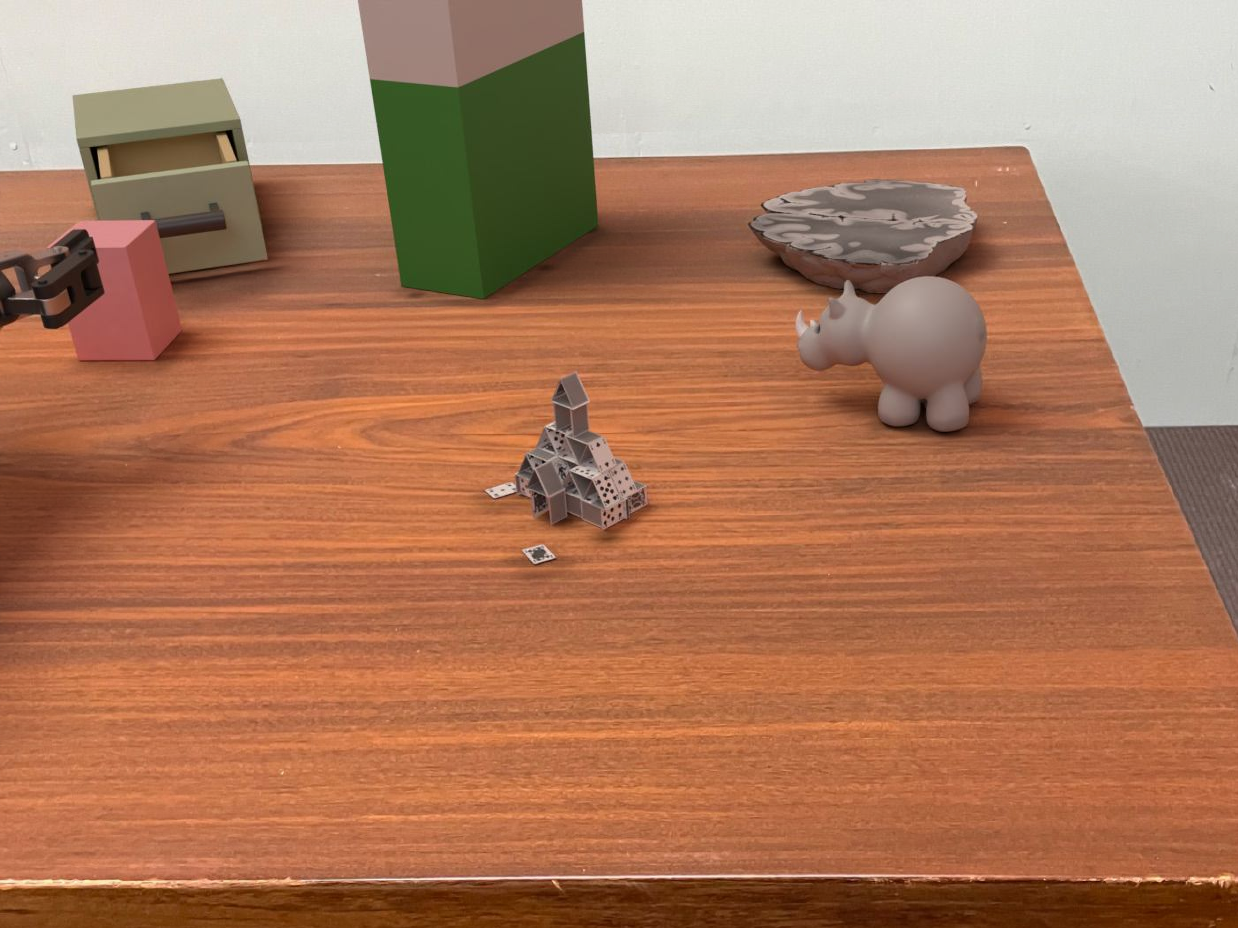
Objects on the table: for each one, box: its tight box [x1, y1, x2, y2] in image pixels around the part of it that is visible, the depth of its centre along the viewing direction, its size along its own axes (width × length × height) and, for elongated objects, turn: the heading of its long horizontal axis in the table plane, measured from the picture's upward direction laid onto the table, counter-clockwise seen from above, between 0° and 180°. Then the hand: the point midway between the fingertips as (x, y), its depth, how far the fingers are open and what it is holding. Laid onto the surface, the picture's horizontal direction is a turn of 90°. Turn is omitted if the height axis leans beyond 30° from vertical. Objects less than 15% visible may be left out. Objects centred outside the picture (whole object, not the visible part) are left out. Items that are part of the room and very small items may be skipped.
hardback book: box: [357, 0, 599, 300], centre depth 114 cm, size 18×7×24 cm, turn 154°
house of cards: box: [484, 370, 649, 565], centre depth 84 cm, size 9×9×8 cm
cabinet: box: [72, 77, 264, 231], centre depth 129 cm, size 15×13×9 cm
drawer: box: [91, 131, 269, 274], centre depth 119 cm, size 18×11×7 cm, turn 20°
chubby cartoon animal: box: [794, 276, 988, 433], centre depth 93 cm, size 7×12×8 cm, turn 67°
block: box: [45, 220, 183, 361], centre depth 106 cm, size 6×6×8 cm
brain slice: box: [747, 178, 979, 294], centre depth 117 cm, size 20×17×3 cm
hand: (18, 245), depth 93 cm, fingers open, 8 cm apart
